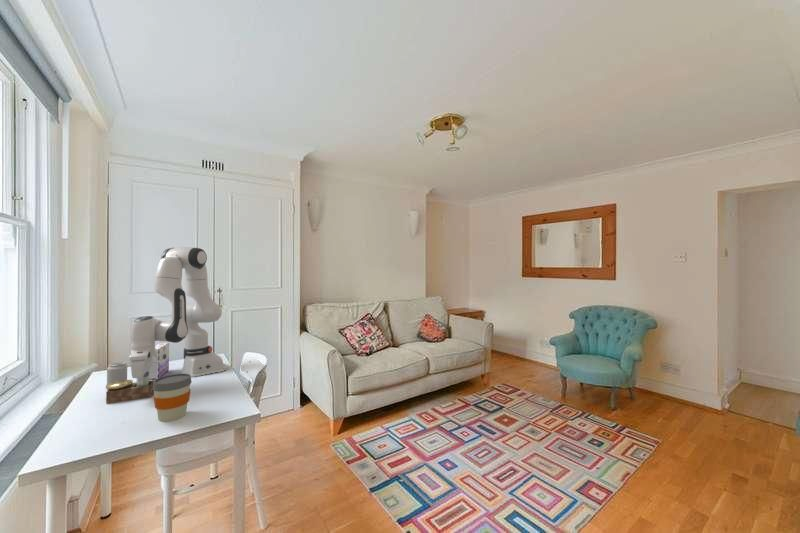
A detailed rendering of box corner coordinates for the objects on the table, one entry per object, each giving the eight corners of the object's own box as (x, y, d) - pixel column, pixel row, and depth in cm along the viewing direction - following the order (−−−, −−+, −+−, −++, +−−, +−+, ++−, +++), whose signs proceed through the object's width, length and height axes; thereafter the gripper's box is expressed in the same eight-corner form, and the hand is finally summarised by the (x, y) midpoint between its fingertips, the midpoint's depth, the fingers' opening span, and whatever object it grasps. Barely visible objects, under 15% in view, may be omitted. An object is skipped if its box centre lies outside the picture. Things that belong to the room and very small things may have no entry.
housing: (155, 390, 152) (155, 379, 152) (151, 396, 144) (151, 385, 144) (113, 396, 145) (113, 385, 145) (106, 403, 137) (106, 392, 137)
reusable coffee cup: (185, 406, 134) (185, 371, 134) (195, 415, 126) (196, 377, 126) (148, 417, 124) (148, 379, 125) (157, 427, 116) (157, 386, 117)
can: (131, 385, 158) (131, 361, 158) (116, 391, 151) (116, 366, 151) (117, 384, 159) (118, 360, 159) (102, 390, 151) (102, 365, 152)
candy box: (157, 372, 179) (157, 343, 179) (169, 371, 180) (169, 342, 180) (145, 380, 165) (145, 348, 166) (158, 379, 167) (159, 348, 167)
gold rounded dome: (134, 391, 148) (135, 378, 148) (129, 398, 140) (129, 384, 140) (109, 394, 144) (109, 381, 144) (102, 402, 136) (102, 388, 136)
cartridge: (149, 392, 149) (150, 371, 149) (147, 395, 145) (147, 374, 145) (137, 394, 147) (137, 372, 147) (134, 397, 143) (135, 375, 143)
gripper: (140, 347, 154) (139, 376, 154) (128, 358, 136) (127, 390, 136) (156, 346, 157) (156, 374, 157) (146, 356, 139) (146, 387, 139)
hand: (142, 381), depth 146 cm, fingers closed on cartridge, 4 cm apart
